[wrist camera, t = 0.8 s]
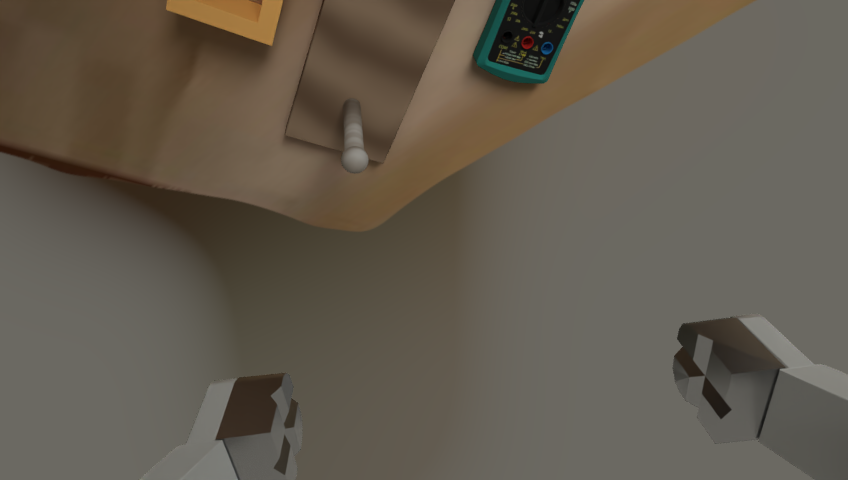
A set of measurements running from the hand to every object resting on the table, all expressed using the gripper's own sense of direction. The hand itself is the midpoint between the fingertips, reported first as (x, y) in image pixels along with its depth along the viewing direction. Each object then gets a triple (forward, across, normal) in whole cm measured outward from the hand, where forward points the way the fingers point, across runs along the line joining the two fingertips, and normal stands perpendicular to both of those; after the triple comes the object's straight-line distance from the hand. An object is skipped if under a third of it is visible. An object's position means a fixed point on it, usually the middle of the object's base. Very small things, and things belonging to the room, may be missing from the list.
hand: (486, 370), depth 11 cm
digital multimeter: (+42, -12, -4) cm, 44 cm away
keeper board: (+42, +3, -1) cm, 42 cm away
